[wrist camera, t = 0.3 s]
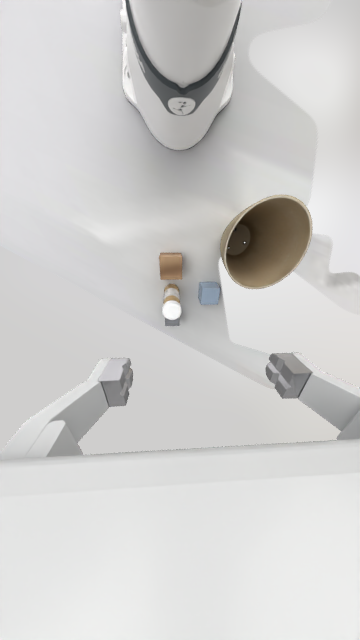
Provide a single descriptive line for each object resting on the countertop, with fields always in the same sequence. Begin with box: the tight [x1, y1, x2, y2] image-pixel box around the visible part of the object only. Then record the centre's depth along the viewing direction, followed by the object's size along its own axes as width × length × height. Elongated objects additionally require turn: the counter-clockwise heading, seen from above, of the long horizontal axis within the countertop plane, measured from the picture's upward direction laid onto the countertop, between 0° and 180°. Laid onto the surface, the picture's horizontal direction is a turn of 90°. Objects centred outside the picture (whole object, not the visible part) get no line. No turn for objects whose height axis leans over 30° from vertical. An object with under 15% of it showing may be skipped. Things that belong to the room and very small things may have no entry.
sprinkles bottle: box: [162, 284, 182, 320], centre depth 41 cm, size 5×5×14 cm
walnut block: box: [159, 253, 182, 280], centre depth 40 cm, size 6×6×6 cm
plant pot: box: [220, 195, 312, 289], centre depth 33 cm, size 15×15×16 cm
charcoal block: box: [165, 317, 180, 326], centre depth 50 cm, size 4×4×4 cm
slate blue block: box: [198, 282, 220, 305], centre depth 45 cm, size 5×5×5 cm
